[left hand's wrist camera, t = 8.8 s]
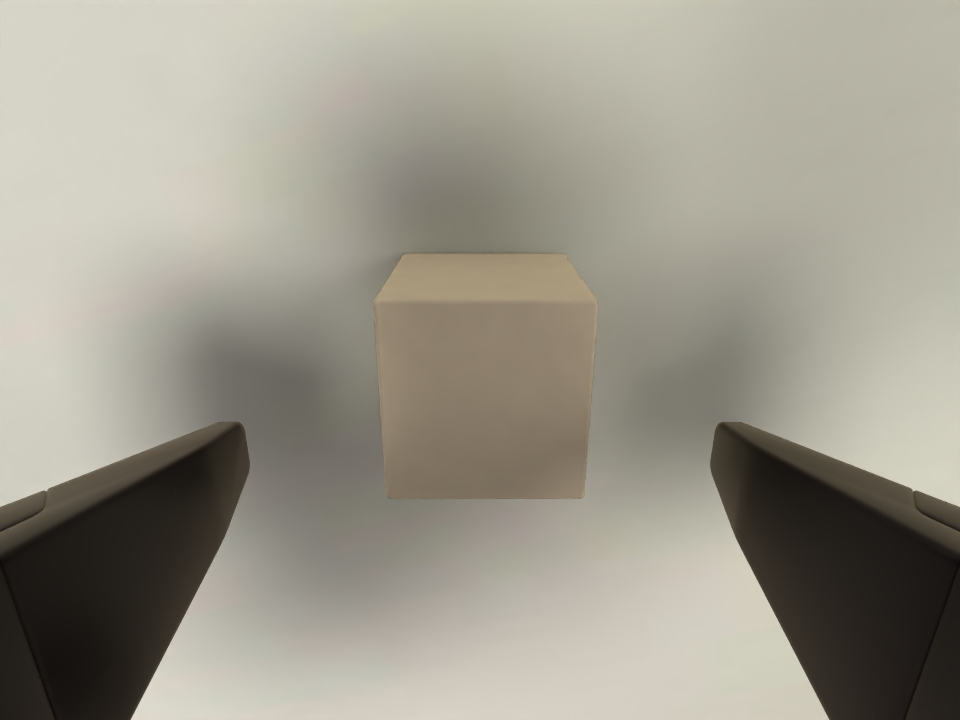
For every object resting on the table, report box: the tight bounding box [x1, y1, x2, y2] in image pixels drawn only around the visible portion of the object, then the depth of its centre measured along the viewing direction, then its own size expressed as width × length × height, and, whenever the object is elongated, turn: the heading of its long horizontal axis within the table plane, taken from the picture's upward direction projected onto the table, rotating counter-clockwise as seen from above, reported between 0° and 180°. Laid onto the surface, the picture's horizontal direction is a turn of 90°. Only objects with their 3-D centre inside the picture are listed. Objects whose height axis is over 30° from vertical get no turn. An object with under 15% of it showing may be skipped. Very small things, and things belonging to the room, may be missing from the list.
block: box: [373, 254, 598, 499], centre depth 15 cm, size 4×5×5 cm
